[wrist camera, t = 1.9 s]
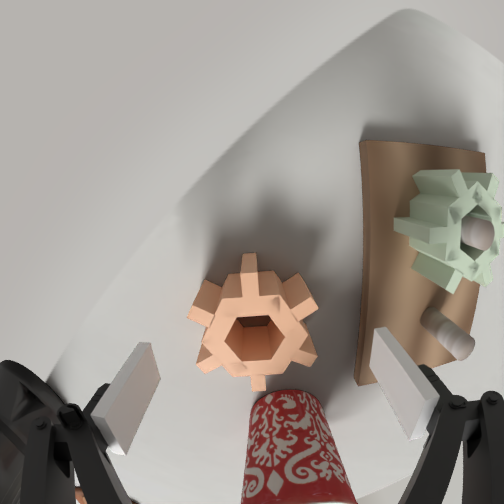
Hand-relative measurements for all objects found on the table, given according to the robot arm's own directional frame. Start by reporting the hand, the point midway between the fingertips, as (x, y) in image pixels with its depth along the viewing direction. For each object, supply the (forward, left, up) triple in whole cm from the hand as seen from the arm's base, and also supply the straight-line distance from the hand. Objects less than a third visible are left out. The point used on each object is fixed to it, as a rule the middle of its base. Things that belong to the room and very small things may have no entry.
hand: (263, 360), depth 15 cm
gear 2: (+15, +6, -6) cm, 17 cm away
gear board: (+15, +2, -8) cm, 17 cm away
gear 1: (0, 0, -8) cm, 8 cm away
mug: (+3, -14, -8) cm, 16 cm away
